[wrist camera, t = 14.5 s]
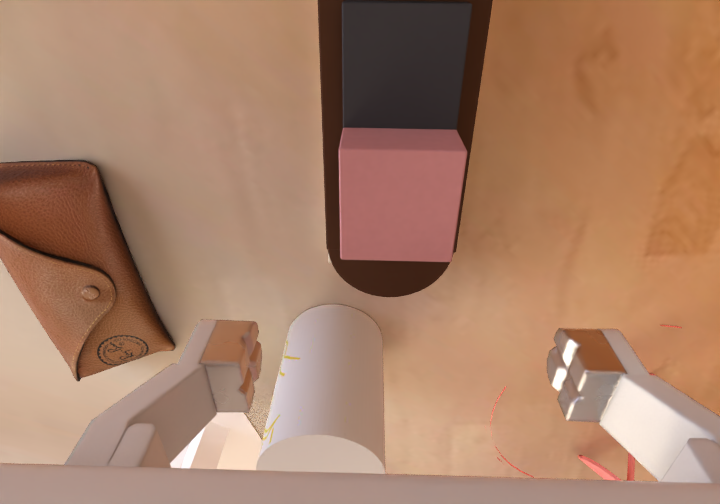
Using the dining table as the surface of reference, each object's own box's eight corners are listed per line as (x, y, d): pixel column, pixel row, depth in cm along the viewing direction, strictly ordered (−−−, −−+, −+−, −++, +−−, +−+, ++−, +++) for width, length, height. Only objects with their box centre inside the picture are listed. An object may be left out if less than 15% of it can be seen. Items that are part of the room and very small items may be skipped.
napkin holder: (163, 490, 52) (142, 544, 47) (105, 430, 46) (73, 484, 41) (283, 470, 49) (273, 525, 44) (237, 403, 43) (220, 458, 38)
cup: (279, 307, 37) (242, 436, 26) (379, 301, 36) (380, 432, 26) (296, 376, 41) (270, 511, 31) (385, 372, 40) (389, 508, 30)
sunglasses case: (182, 353, 39) (112, 410, 34) (135, 329, 42) (66, 378, 38) (94, 154, 29) (-19, 196, 25) (43, 146, 33) (-65, 181, 28)
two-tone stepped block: (343, -1, 20) (336, 7, 16) (467, 1, 19) (488, 9, 16) (345, 222, 25) (340, 263, 22) (440, 224, 25) (451, 266, 22)
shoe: (319, -78, 23) (299, -95, 17) (484, -76, 23) (527, -93, 16) (330, 252, 34) (319, 318, 27) (442, 255, 34) (458, 322, 27)
